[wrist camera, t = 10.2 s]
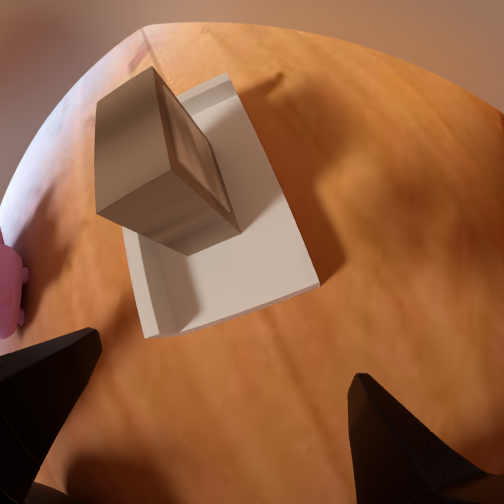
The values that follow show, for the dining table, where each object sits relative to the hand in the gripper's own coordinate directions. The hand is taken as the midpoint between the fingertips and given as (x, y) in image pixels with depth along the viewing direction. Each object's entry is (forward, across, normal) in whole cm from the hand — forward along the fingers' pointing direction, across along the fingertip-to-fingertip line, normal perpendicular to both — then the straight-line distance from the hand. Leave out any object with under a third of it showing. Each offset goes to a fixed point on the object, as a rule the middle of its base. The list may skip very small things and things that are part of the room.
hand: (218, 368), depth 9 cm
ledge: (+15, +4, -3) cm, 16 cm away
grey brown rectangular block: (+13, +4, -4) cm, 14 cm away
